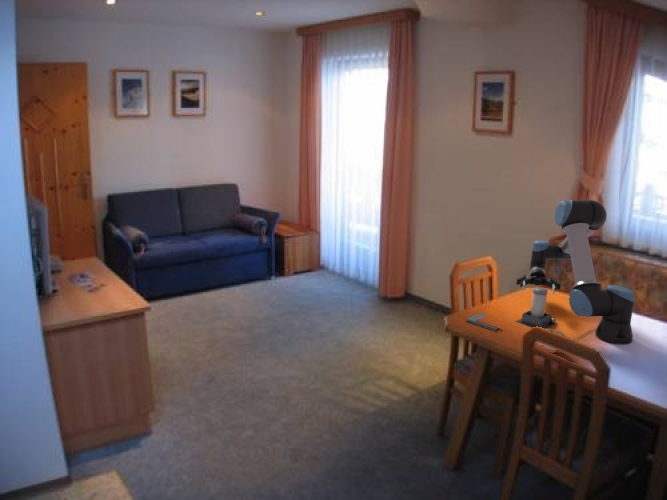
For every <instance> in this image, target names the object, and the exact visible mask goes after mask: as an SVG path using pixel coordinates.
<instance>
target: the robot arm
mask: <svg viewBox="0 0 667 500" xmlns="http://www.w3.org/2000/svg"><path fill="white" fill-rule="evenodd" d="M607 214H608V213H607V210H606V208H605V206H604V205H603V204H602V203H601V202H599V201H596V200H594V199H593V200H592V199H590V200H588V199H587V200H583V199H582V200H578V199H569V200H561V201H560V202H558V205H557V206H556V209H555V211H554V221H555V224H556V225H557V226H559V227H561V230H562V231H561V232H563V233H565V234H566V237H565V238H564V240H563V241H562V242H561V243H559V244H549V242H548V241H547V240H541V239H539V240H538V239H537V240H534V241H533V245H532V248H531V256H530V257H531V258H530V265H529V269H528V270H529V277H528V276H527V275H526V274H524V275H523V276H522V277H519V278H517V279H516V285H517V286H519V287H520V288H522V291H525V286H526V285H534V286H541V285H542V286H543V287H545V286H546V287H548V288H551V291H552V294H553V295H554V294H555V293H556V291H557V290H561V283H559V282H558V281H556V280H554V279H553V278H551V277H550V278H549V279H548V278H547V277H546V265H547V260H566V261H568V260H570V262H571V266H572V272H573V278H574V283H575V284H574V285H572V290H571V291H570V292H569V297H568V304H569V306H570V310H571V311H572V312H573V314H575V315H577V317H585V318H590V317H601V320H600V322H599V323H598V325H597V328H595V337H597V338H598V339H599V340H601V341H604V342H606V343H610V344H617V345H626V344H630V343H632V342H633V336H634V334H633V329H632V325H631V323H632V317H633V316H632V315H633V311H634V304H635V303H636V301H635V297H636V295H635V292H634V291H633V290H632V289H630V288H627V287H625V286H620V285H618V284H617V285H616V284H608V285H606V287H605V288H606V289H602V287H601V283H600V282H598V281H597V278H596V274H595V273H596V272H595V269H594V264H593V258H592V257H593V256H592V253H591V247H590V242H589V238H590V236H591V235H592V234H593V233H594V232H595V231H598V230H600V229H601V228H602V227H603V226H604V225H605V222H606V221H607Z"/></svg>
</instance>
